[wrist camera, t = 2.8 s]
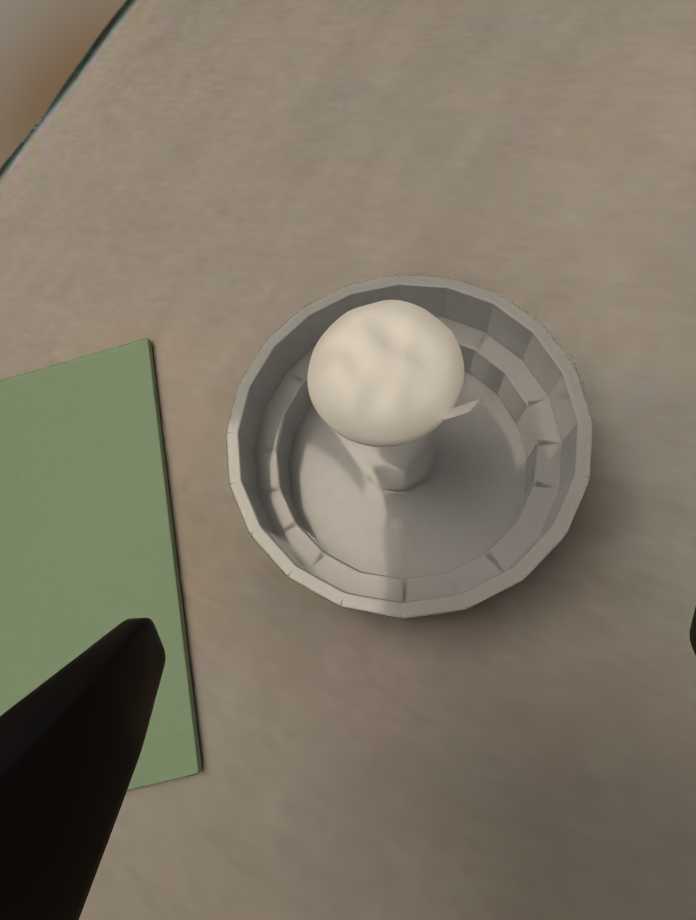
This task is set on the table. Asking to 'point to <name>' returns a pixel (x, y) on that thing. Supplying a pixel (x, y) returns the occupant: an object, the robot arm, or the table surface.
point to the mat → (91, 536)
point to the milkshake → (388, 388)
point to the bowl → (450, 477)
